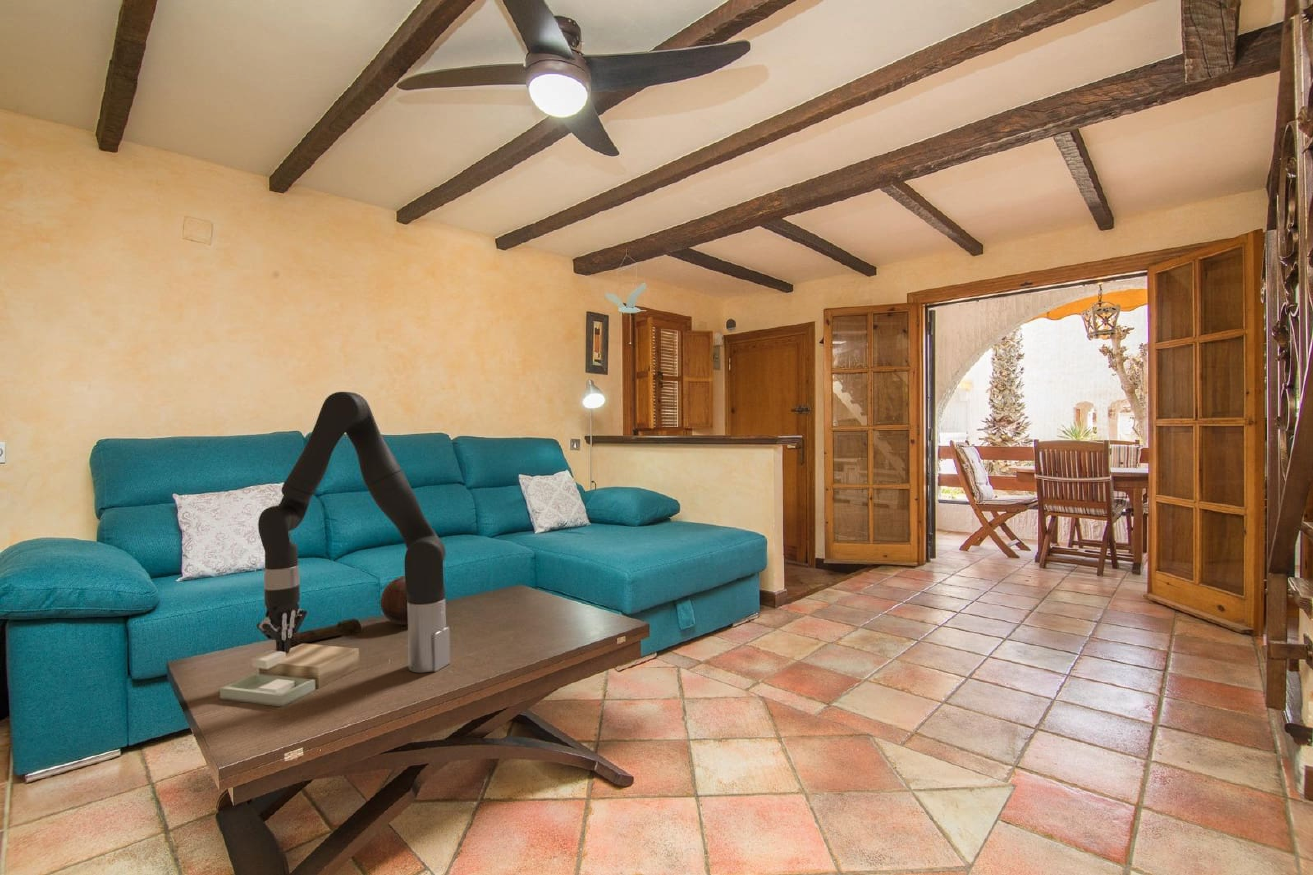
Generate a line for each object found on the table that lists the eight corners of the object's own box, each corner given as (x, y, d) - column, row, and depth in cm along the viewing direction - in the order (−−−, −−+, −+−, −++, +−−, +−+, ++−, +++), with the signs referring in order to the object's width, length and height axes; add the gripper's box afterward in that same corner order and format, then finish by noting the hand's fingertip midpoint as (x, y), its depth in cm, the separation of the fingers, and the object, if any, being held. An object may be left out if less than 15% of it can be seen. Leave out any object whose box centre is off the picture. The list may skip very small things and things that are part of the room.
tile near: (275, 689, 138) (276, 698, 138) (294, 681, 143) (294, 689, 143) (258, 687, 139) (258, 696, 139) (277, 679, 144) (277, 687, 144)
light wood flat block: (359, 667, 157) (358, 648, 157) (318, 688, 144) (318, 667, 144) (303, 662, 162) (302, 643, 161) (259, 681, 149) (258, 661, 149)
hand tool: (290, 649, 173) (290, 633, 172) (288, 645, 176) (288, 629, 176) (363, 634, 184) (362, 619, 184) (359, 631, 187) (359, 616, 187)
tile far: (286, 660, 149) (285, 652, 149) (267, 669, 144) (266, 661, 144) (271, 657, 151) (271, 649, 151) (252, 666, 146) (251, 658, 146)
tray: (315, 690, 143) (315, 679, 143) (282, 706, 134) (282, 695, 134) (255, 683, 148) (255, 672, 148) (220, 698, 139) (220, 688, 139)
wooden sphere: (440, 622, 194) (439, 575, 194) (394, 634, 183) (393, 584, 183) (417, 613, 204) (417, 569, 204) (372, 624, 193) (371, 577, 193)
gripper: (270, 592, 144) (271, 665, 144) (315, 579, 157) (317, 646, 157) (245, 590, 146) (247, 662, 146) (292, 577, 159) (294, 643, 159)
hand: (283, 653), depth 151 cm, fingers closed
